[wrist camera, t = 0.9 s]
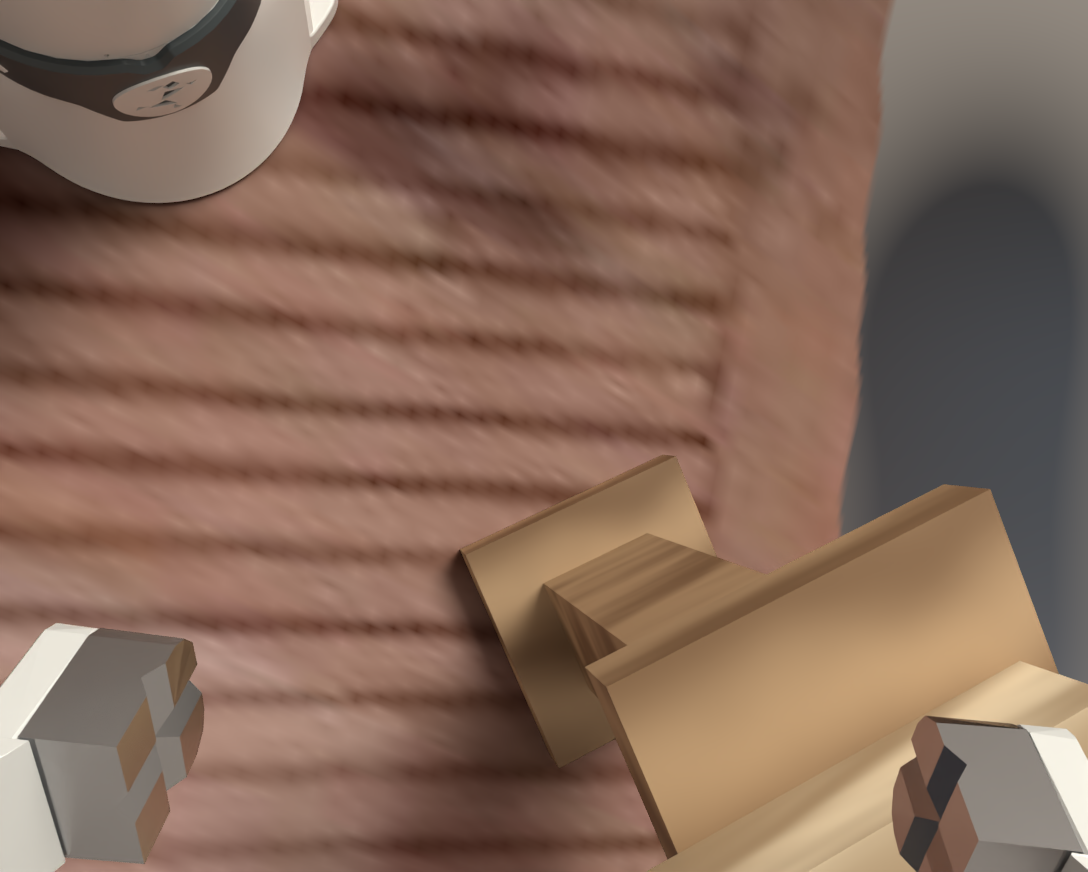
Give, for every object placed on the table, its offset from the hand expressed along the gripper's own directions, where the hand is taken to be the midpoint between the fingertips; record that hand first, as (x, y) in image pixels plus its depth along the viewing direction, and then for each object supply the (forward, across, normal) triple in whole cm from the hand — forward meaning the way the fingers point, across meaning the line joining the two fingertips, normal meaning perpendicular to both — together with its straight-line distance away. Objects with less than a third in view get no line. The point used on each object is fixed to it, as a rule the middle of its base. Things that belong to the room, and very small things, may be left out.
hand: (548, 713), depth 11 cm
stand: (+32, -3, +26) cm, 41 cm away
